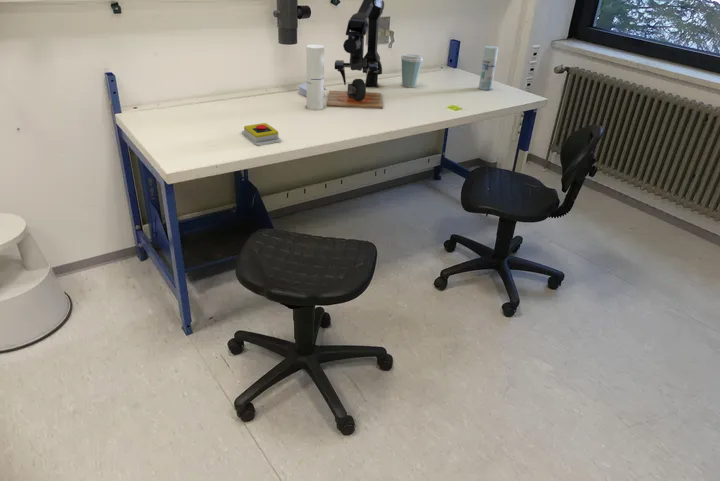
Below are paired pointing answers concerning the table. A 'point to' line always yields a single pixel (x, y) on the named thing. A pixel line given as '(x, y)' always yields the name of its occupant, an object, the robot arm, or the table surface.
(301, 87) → the wedge on round base
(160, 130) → the table surface
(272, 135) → the emergency button
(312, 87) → the cylindrical container
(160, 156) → the table surface
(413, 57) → the disposable coffee cup
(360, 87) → the caster wheel
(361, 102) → the wooden board
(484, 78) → the spray paint can
